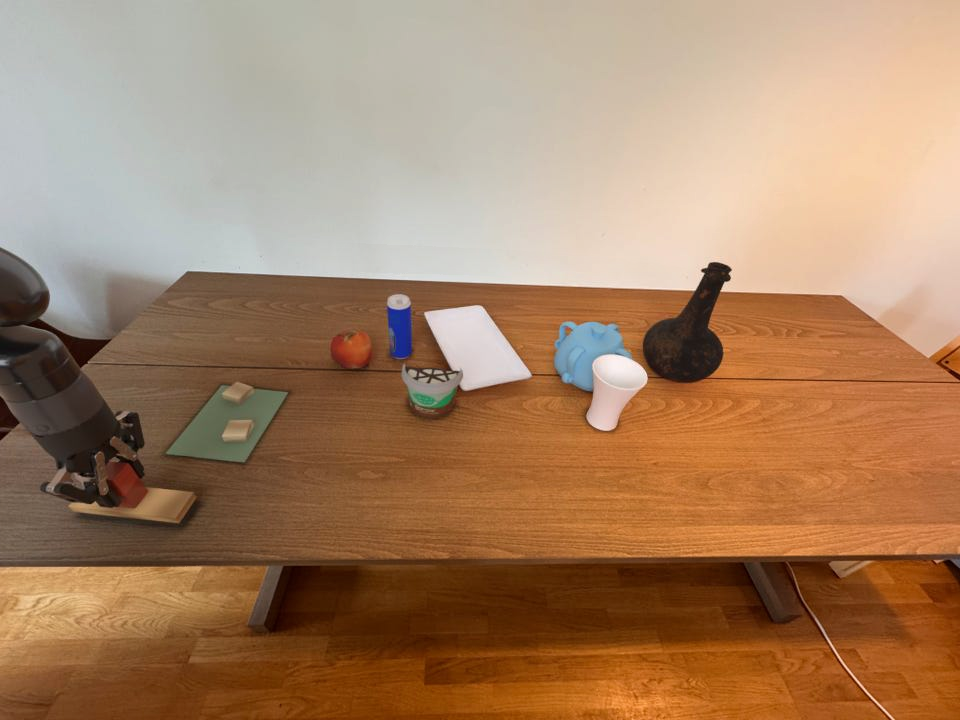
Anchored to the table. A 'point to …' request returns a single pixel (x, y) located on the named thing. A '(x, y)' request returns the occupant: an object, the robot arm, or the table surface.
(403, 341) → the beverage can
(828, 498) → the table surface
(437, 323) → the tray
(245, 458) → the mat
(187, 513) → the brush
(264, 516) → the table surface
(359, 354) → the tomato
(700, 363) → the glass bottle
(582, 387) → the decorative pot
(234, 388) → the chip
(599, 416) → the cup
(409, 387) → the food container
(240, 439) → the chip
